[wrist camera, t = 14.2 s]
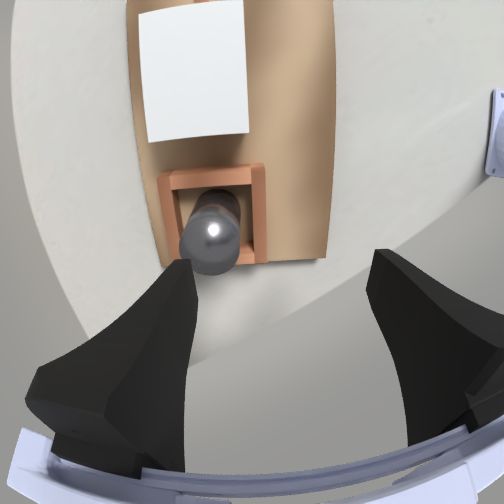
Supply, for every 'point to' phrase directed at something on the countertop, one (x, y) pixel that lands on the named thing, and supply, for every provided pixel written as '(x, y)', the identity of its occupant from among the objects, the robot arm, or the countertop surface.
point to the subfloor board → (254, 137)
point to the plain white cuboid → (194, 70)
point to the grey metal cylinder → (212, 233)
